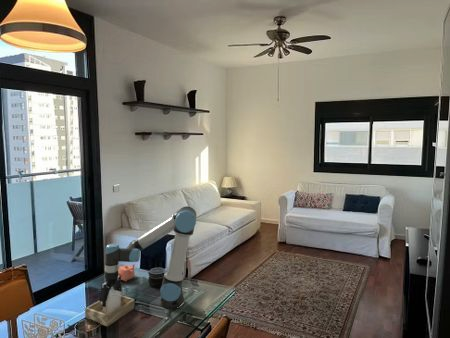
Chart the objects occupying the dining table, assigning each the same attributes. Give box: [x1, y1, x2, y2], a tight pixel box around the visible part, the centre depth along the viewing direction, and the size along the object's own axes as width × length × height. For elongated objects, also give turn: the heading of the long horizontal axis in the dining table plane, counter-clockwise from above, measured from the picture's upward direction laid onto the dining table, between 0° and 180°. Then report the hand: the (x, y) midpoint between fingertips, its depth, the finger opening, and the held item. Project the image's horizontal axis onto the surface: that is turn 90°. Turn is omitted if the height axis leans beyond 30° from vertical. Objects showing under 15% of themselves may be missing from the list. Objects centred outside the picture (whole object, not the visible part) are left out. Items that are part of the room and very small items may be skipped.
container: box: [147, 267, 166, 288], centre depth 232 cm, size 13×13×10 cm
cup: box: [101, 289, 122, 313], centre depth 190 cm, size 8×12×10 cm
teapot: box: [118, 262, 137, 283], centre depth 237 cm, size 14×12×10 cm
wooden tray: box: [84, 294, 136, 327], centre depth 191 cm, size 17×22×6 cm
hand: (110, 307), depth 191 cm, fingers closed on cup, 8 cm apart
